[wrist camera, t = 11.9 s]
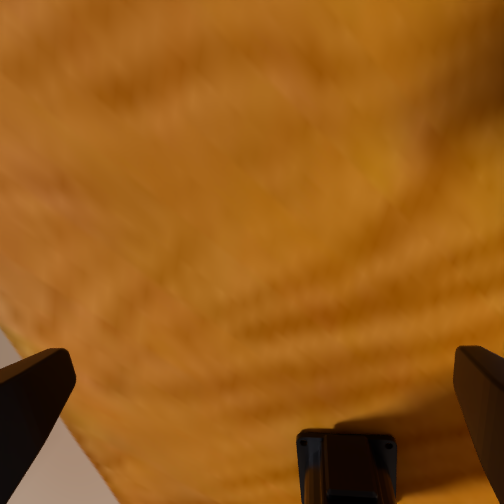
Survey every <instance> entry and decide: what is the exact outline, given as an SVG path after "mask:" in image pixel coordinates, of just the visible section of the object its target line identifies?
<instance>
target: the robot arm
mask: <svg viewBox="0 0 504 504" xmlns="http://www.w3.org/2000/svg"><path fill="white" fill-rule="evenodd" d="M75 383H76V374H75V371H74V367H73V364H72V361H71V357H70V354H69V352H68V351H67V350H66V349H64V348H50V349H46V350H44V351H42V352H39V353H37V354H35V355H32V356H30V357H28V358H25V359H23V360H20V361H18V362H16V363H14V364H11V365H9V366H6V367H4V368H2V369H0V504H7V502H8V500H9V499H10V497H11V496H12V494H13V493H14V491H15V489H16V488H17V486H18V485H19V483H20V482H21V480H22V478H23V477H24V475H25V474H26V472H27V471H28V469H29V467H30V466H31V464H32V463H33V461H34V460H35V458H36V456H37V455H38V453H39V451H40V450H41V448H42V447H43V445H44V443H45V441H46V440H47V438H48V436H49V434H50V432H51V431H52V429H53V427H54V425H55V423H56V421H57V419H58V417H59V415H60V413H61V411H62V410H63V408H64V406H65V404H66V402H67V400H68V398H69V396H70V394H71V392H72V390H73V388H74V386H75ZM453 384H454V390H455V393H456V396H457V398H458V401H459V404H460V407H461V410H462V413H463V415H464V418H465V421H466V424H467V427H468V429H469V432H470V435H471V438H472V441H473V444H474V446H475V449H476V452H477V455H478V457H479V460H480V462H481V465H482V467H483V469H484V471H485V474H486V476H487V478H488V480H489V482H490V484H491V486H492V488H493V490H494V492H495V494H496V497H497V499H498V501H499V503H500V504H504V358H502V357H500V356H498V355H496V354H495V353H493V352H491V351H489V350H487V349H485V348H483V347H481V346H477V345H475V346H459V347H457V349H456V352H455V362H454V375H453ZM302 440H305V441H302ZM387 443H390V444H387ZM296 445H297V456H298V467H299V479H300V490H301V501H302V504H397V503H396V467H397V445H396V441H395V439H394V437H392V436H389V435H366V434H333V433H299V434H298V435H297V438H296Z"/></svg>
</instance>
